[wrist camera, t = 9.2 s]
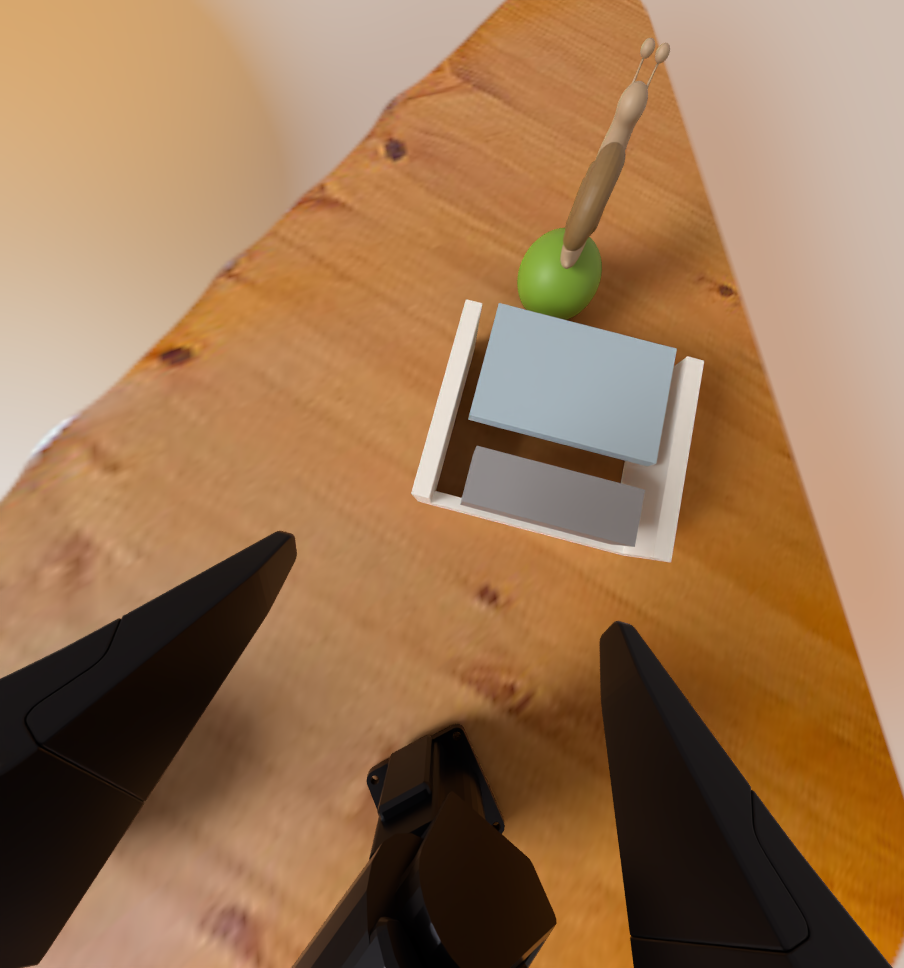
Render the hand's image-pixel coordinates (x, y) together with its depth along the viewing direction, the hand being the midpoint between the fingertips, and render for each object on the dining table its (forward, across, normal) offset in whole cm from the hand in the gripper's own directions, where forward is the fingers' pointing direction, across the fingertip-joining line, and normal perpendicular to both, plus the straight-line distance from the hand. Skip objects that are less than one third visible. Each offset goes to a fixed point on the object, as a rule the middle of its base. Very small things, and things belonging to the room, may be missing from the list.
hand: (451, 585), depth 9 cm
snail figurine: (+24, -3, -5) cm, 25 cm away
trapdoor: (+13, -4, +1) cm, 14 cm away
